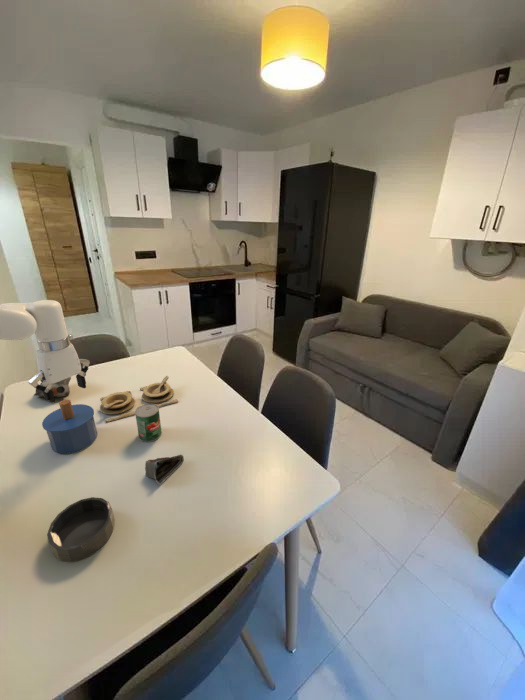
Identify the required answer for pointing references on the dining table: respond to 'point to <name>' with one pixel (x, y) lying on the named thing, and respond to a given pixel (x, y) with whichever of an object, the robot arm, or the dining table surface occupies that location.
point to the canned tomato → (148, 422)
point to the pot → (73, 438)
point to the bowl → (81, 529)
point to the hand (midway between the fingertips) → (67, 393)
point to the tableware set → (125, 401)
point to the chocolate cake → (163, 467)
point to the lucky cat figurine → (57, 388)
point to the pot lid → (67, 417)
